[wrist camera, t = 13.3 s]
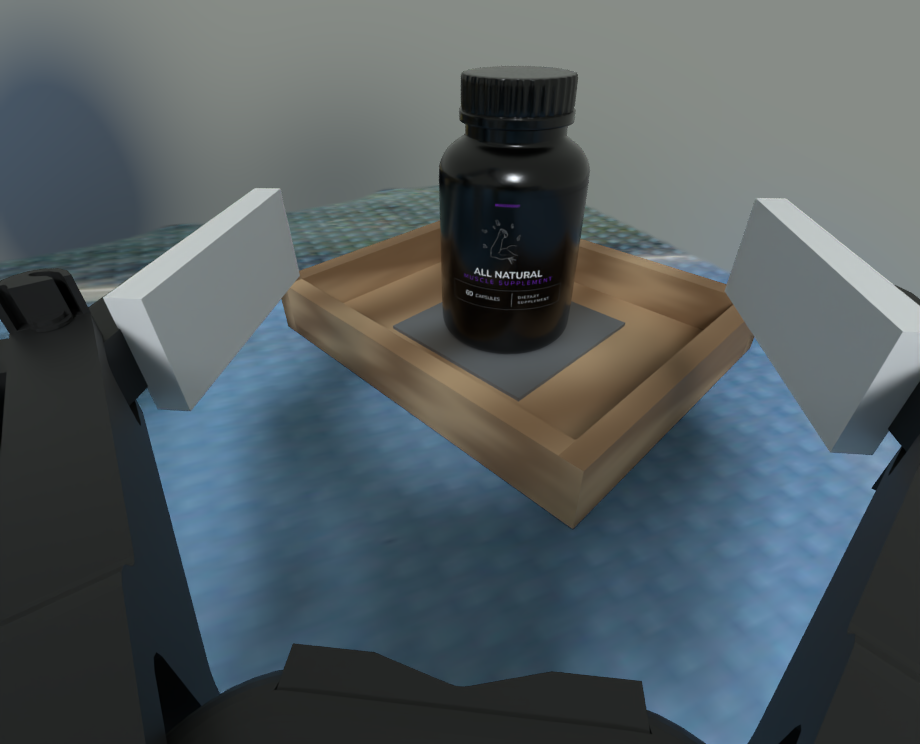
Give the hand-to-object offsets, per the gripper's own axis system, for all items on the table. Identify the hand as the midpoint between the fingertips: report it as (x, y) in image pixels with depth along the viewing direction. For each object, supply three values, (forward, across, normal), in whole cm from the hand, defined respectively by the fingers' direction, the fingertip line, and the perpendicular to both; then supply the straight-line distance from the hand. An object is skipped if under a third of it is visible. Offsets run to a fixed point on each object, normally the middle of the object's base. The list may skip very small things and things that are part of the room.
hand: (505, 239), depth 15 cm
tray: (+10, 0, -10) cm, 14 cm away
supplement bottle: (+10, 0, -9) cm, 13 cm away
